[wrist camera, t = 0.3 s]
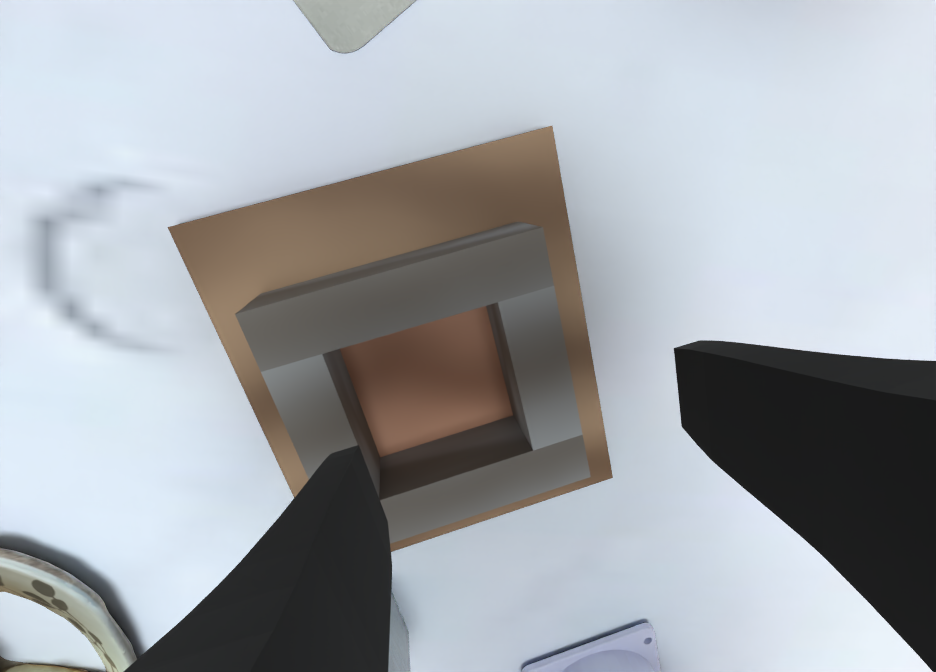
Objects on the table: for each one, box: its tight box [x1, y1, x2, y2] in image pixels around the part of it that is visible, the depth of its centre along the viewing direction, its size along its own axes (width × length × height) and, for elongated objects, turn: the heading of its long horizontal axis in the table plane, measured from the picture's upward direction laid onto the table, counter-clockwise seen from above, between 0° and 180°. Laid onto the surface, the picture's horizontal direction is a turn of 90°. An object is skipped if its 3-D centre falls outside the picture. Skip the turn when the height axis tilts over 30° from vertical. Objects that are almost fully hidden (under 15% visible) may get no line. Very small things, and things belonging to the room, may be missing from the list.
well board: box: [168, 126, 613, 552], centre depth 18 cm, size 16×14×4 cm
